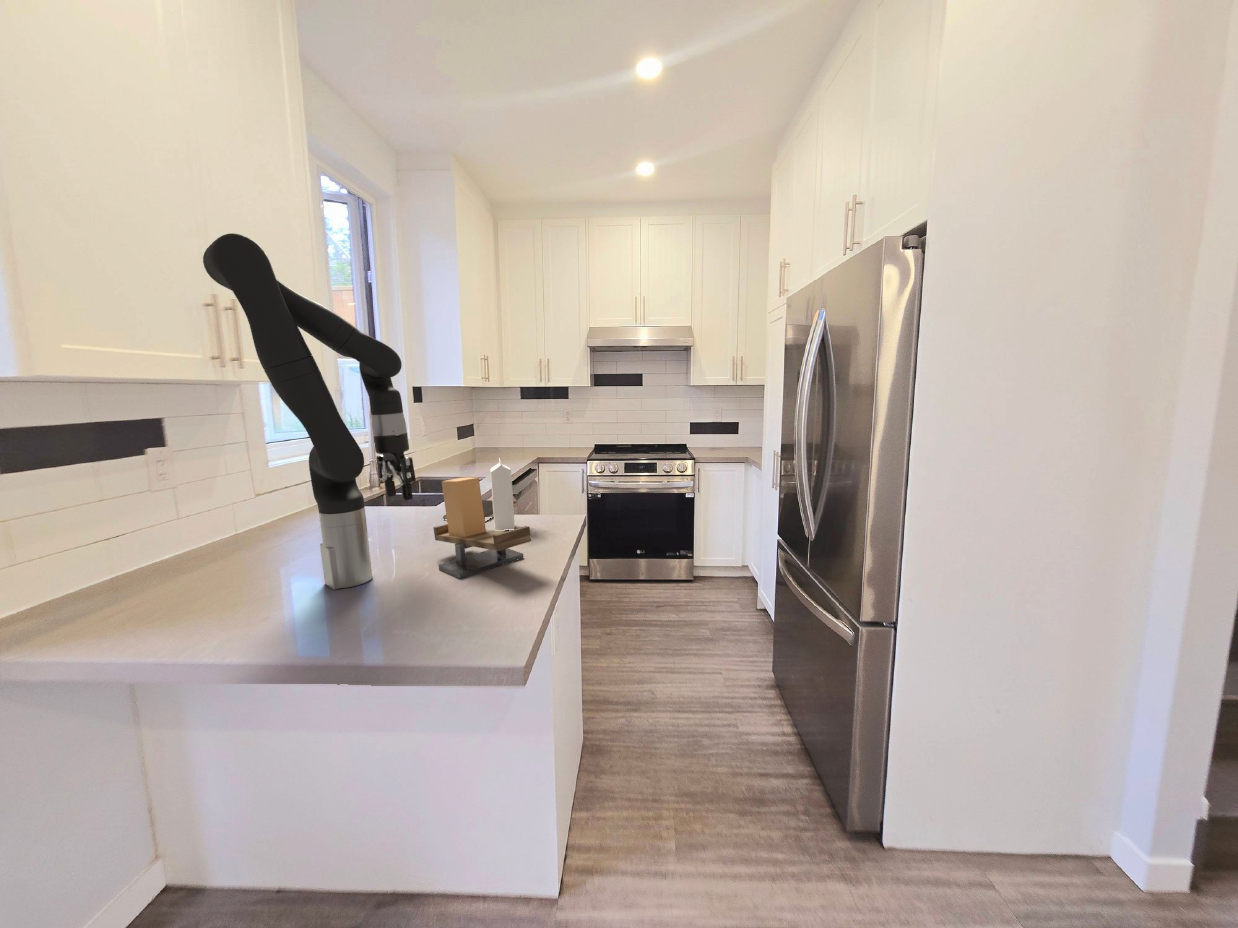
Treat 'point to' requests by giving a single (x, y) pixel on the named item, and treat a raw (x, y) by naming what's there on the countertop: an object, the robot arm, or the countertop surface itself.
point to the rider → (463, 506)
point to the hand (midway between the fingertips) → (399, 497)
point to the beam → (486, 538)
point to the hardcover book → (487, 508)
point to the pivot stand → (477, 561)
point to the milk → (502, 497)
